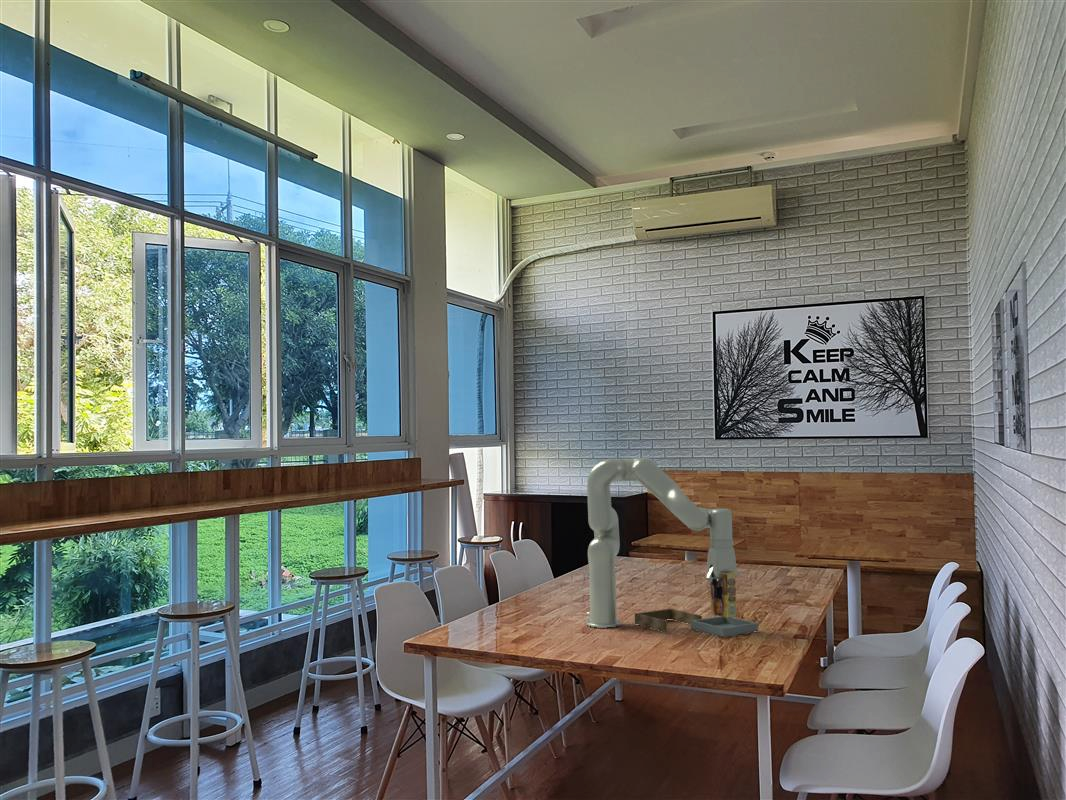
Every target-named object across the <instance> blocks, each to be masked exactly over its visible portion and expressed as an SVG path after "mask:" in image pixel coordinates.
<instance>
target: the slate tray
mask: <svg viewBox="0 0 1066 800" xmlns="http://www.w3.org/2000/svg"><path fill="white" fill-rule="evenodd" d="M692 629H695V630H694V631H696V630H698V631H697V632H699V631H702V632H701V633H703V632H706V633H705V634H707V633H709V634H708V635H711V634H713V635H712V636H714V635H717V636H716V637H718V636H721V637H720V638H722V637H725V638H727V637H726V636H731V637H733V636H732V635H737V636H739V635H738V634H743V633H748V632H754V631H758V632H759V623H758V622H755V621H751V620H748V619H747V620H746V619H741V618H737V617H731V618H727V617H722V616H718V615H717V616H713V617H711V616H710V617H705V618H702V619H698V620H691V625H690V630H692ZM743 635H744V634H743Z"/></svg>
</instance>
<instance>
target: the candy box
mask: <svg viewBox="0 0 1066 800" xmlns="http://www.w3.org/2000/svg"><path fill="white" fill-rule="evenodd" d="M712 578H713V577H712ZM736 579H737V578H736ZM736 579H735V572H724V573H723V577H722V578H721V583H720V587H721V588H722V599H717V598H714V586H712V584H711V582H710V581H709V585H710V588H709V589H710V614H711V615H714V616H717V617H718V616H722V617H727V618H731V617H734V618H737V613H738V612H737V589H736V587H737V584H736V581H737V580H736ZM716 582H717V579H716Z"/></svg>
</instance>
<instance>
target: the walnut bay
mask: <svg viewBox="0 0 1066 800" xmlns="http://www.w3.org/2000/svg"><path fill="white" fill-rule="evenodd" d="M702 617H703V615H700V614H697V613H691V612H689V611H683V610H679V609H676V608H671V607H670V608H665V609H657V610H650V611H643V612H636V613H635V612H634V625H635V624H639V625H642V626H645V627H648V628H652V629H655V630H659V631H662V632H667V628H668V627H667V621H665V620H667V619H673V620H677V621H680V622H684V623H688V624H691V620H698V619H703V618H702ZM673 620H672V621H673ZM677 621H676V622H677ZM680 622H679V623H680ZM684 623H683V624H684ZM688 624H687V625H688ZM645 627H644V628H645ZM648 628H647V629H648ZM652 629H651V630H652ZM655 630H654V631H655ZM659 631H658V632H659ZM662 632H661V633H662Z"/></svg>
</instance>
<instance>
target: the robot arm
mask: <svg viewBox="0 0 1066 800" xmlns="http://www.w3.org/2000/svg"><path fill="white" fill-rule="evenodd" d="M614 482H639V483H640V484H641V485H642V486H643V487H644V488H645V489H647V491H649V492H650V493H651V494H652V495H653V496H654V497H656V498H657V499H658V500H659V501H660V502H661V503H662V505H663V506H665V508H667V509H668V510H669V511H670V512H671V513H672V514H673V516H675V517H676V518H677V519H678V520H679V521H680V522H682V523H683V524H684V525H685V526H686V527H687V528H688V529H691V530H692V531H694V532H700V531H701V532H702V531H703V530H705V529H709V531H710V532H709V534H710V536H709V537H710V539H709V540H710V541H709V542H710V548H708V551H707V560H706V561H707V562H706V563H707V564H706V577H705V578H706V580H707V581H708V582H709V583H710V582H711V584H712V586H714V598H717V599H722V588H721V587H720V583H721V578H722V577H723V573H724V572H735V579H737V578H738V577H739V575H740V574H739V573H738V570H737V558H736V557H737V556H736V553H735V548H734V546H733V545H734V543H735V541H734V540H733V516H732V515H733V514H732V511H731V510H730V509H729V508H704V507H698V506H697V505H696V504H695V503H694V502H692V500H690V499H689V498H688V497H687V495H685V493H684V492H683V491H682V490H681V488H680V486H679V485H678V484H677V482H675V480H673V479H672V478H671V477H670V476H669V475H667V474H666V473H665V472H664V471H663V470H662V469H661V468H660V467H658V465H657V463H656V462H655V461H654V460H653V459H652V458H650V457H640V458H639V457H637V458H634V457H633V458H607V459H603V460H602V461H600V462H599V463H597V464H596V465H595V466H594V467H592V469H591V470H590V472H589V473H588V477H587V482H586V483H587V484H586V485H587V488H586V489H587V515H588V517H587V519H588V520H587V521H588V525H589V528H590V529H591V530H592V531H593V535H594V538H593V539H592V540H591V541H590V543H589V545H588V548H587V561H588V570H589V571H588V572H589V573H588V574H589V575H588V576H589V577H588V578H589V611H587V612H586V615H587V616H588V617H589V619H587V620H586V621H585V625H586V626H587V625H588V626H587V627H590V626H591V628H594V627H597V628H596V629H608V628H607V627H613V628H617V627H616V626H618V627H620V626H621V625H622V621H621V620H619V619H618V618H617V614H618V613H617V611H618V610H617V576H616V563H615V559H616V558H615V557H617V555H618V554H619V551H620V547H621V546H620V545H621V544H620V542H621V540H620V528H619V516H618V513H617V511H616V510H615V509H614V508H613V507H612V494H611V484H612V483H614ZM712 577H713V578H712ZM716 579H717V582H716ZM619 625H620V626H619Z"/></svg>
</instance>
